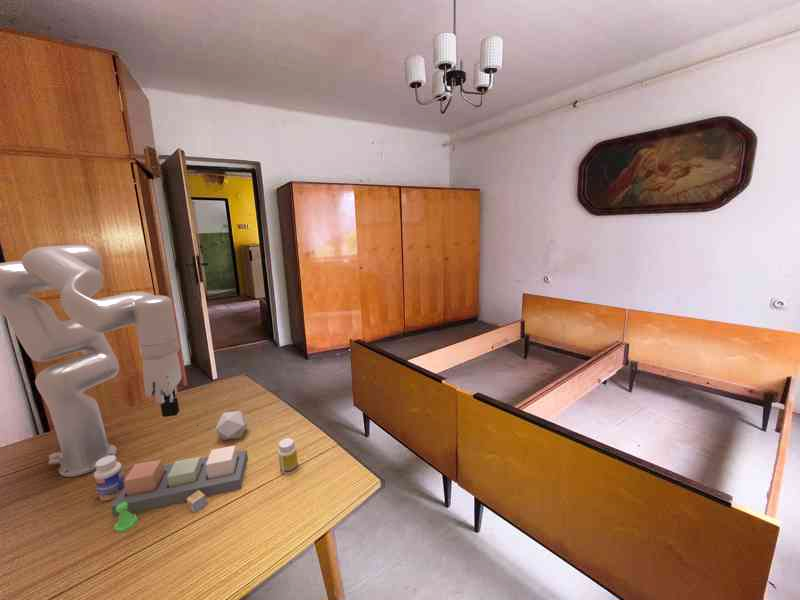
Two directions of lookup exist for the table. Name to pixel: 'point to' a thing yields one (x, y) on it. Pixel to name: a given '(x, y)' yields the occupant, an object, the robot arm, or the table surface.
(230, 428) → the die
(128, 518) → the game piece
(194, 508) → the alphabet block
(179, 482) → the green block
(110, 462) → the pill bottle
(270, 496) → the table surface
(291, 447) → the supplement bottle
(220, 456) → the cream block
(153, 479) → the terracotta block
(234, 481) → the board
